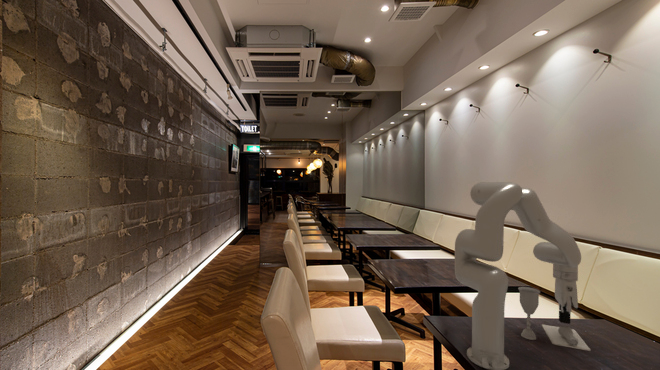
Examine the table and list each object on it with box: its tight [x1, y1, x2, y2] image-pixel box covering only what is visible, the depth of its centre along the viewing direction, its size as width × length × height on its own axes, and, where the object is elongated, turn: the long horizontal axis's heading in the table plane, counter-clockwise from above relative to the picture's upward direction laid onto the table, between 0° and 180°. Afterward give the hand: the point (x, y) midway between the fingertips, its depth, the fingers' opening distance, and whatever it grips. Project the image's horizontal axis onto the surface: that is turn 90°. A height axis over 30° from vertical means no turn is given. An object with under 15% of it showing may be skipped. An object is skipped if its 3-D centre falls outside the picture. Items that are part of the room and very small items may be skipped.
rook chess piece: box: [558, 325, 578, 346], centre depth 111 cm, size 4×4×8 cm
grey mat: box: [541, 323, 591, 352], centre depth 115 cm, size 16×11×1 cm
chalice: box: [517, 286, 541, 341], centre depth 115 cm, size 7×7×18 cm
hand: (564, 322), depth 114 cm, fingers closed
